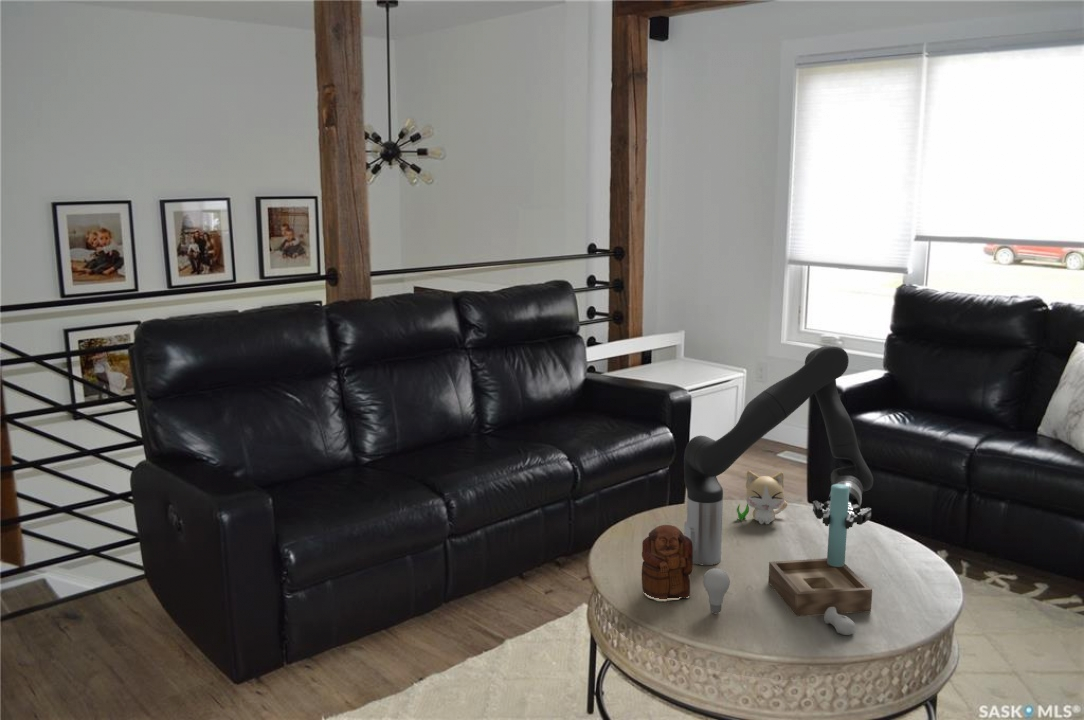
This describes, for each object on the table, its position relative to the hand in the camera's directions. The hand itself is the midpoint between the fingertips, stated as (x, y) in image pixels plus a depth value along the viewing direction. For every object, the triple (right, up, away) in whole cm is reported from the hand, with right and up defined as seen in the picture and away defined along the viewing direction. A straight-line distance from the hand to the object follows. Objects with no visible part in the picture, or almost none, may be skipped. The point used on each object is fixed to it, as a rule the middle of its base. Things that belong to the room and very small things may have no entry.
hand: (837, 523), depth 205 cm
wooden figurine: (-38, -20, +10) cm, 44 cm away
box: (-2, -19, +9) cm, 22 cm away
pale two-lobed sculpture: (-1, -23, -6) cm, 24 cm away
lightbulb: (-28, -21, +2) cm, 35 cm away
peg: (+1, -10, +5) cm, 11 cm away
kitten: (-3, -10, +58) cm, 58 cm away
